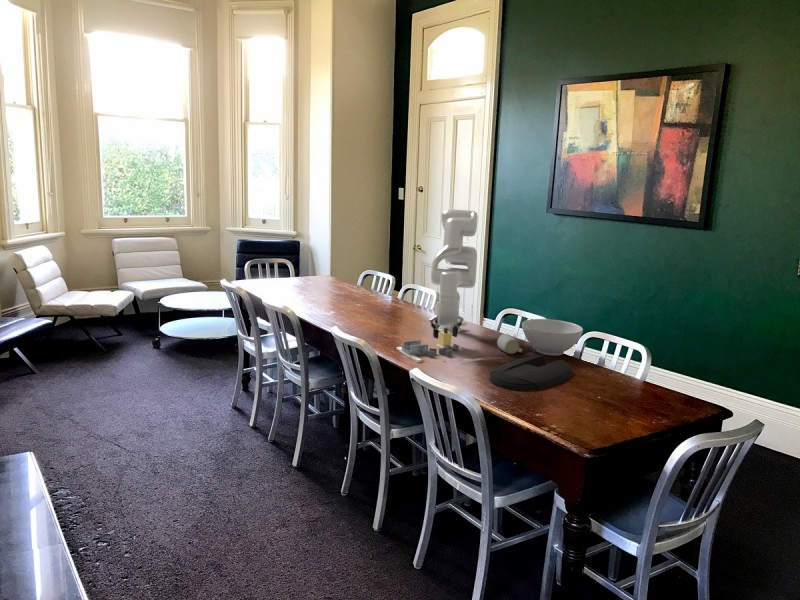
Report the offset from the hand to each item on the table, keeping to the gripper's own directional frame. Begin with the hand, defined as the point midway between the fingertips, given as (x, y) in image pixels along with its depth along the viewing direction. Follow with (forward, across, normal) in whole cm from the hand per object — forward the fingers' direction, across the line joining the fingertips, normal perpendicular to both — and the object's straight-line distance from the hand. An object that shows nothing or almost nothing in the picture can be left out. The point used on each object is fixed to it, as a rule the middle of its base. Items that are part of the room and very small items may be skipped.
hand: (445, 337), depth 275 cm
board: (+5, +9, +5) cm, 12 cm away
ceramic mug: (+5, -26, +14) cm, 30 cm away
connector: (+4, 0, -1) cm, 4 cm away
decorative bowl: (+5, -44, +18) cm, 48 cm away
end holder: (+4, +17, +4) cm, 18 cm away
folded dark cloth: (+7, -13, +44) cm, 47 cm away
